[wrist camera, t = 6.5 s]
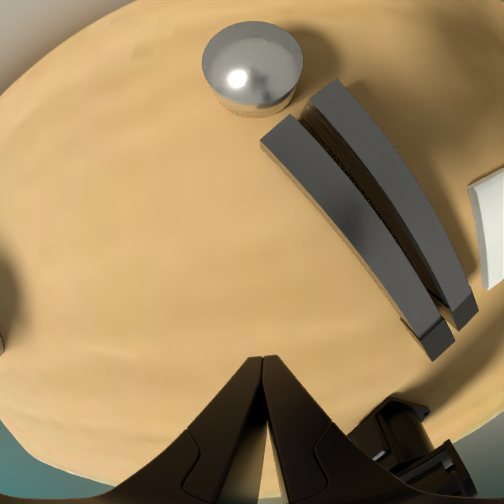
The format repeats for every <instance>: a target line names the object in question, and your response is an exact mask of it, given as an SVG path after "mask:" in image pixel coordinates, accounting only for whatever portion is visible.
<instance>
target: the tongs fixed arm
mask: <svg viewBox="0 0 504 504" xmlns="http://www.w3.org/2000/svg"><path fill="white" fill-rule="evenodd" d="M300 116H301V117H302V118H303V119H304V120H305V121H306V122H307V123H308V124H309V125H310V127H311V128H312V129H313V130H314V131H315V132H316V133H317V134H318V135H319V137H320V138H321V139H322V140H323V141H324V142H325V144H326V145H327V146H328V147H329V148H330V149H331V151H332V152H333V153H334V154H335V155H336V157H337V158H338V159H339V160H340V161H341V163H342V164H343V165H344V166H345V168H346V169H347V170H348V171H349V173H350V174H351V175H352V177H353V178H354V179H355V180H356V182H357V183H358V184H359V186H360V187H361V188H362V190H363V191H364V192H365V194H366V195H367V196H368V198H369V199H370V201H371V202H372V203H373V205H374V206H375V208H376V209H377V210H378V212H379V213H380V215H381V216H382V218H383V219H384V221H385V222H386V224H387V225H388V227H389V228H390V230H391V231H392V233H393V234H394V236H395V237H396V239H397V240H398V242H399V244H400V245H401V247H402V248H403V250H404V252H405V253H406V255H407V256H408V258H409V260H410V261H411V263H412V265H413V267H414V268H415V270H416V272H417V273H418V275H419V277H420V279H421V281H422V282H423V284H424V286H425V288H426V290H427V292H428V294H429V296H430V298H431V299H432V301H433V303H434V305H435V307H436V308H437V310H438V312H439V314H440V315H441V316H442V317H443V318H445V320H447V321H448V322H449V323H450V324H451V325H452V326H453V327H454V328H455V329H456V330H457V331H458V332H459V331H460V330H461V329H462V328H463V327H464V326H465V325H466V324H467V323H468V322H469V321H470V320H471V319H472V317H473V316H474V315H475V314H476V313H477V312H478V311H479V310H478V307H477V304H476V301H475V298H474V295H473V292H472V290H471V287H470V286H469V284H468V281H467V279H466V276H465V274H464V271H463V269H462V266H461V264H460V262H459V259H458V257H457V255H456V253H455V251H454V248H453V246H452V244H451V242H450V240H449V238H448V236H447V234H446V232H445V230H444V228H443V226H442V224H441V222H440V220H439V218H438V216H437V215H436V213H435V211H434V209H433V207H432V206H431V204H430V202H429V200H428V199H427V197H426V195H425V194H424V192H423V190H422V189H421V187H420V185H419V184H418V182H417V180H416V179H415V177H414V176H413V174H412V173H411V171H410V170H409V168H408V167H407V165H406V164H405V162H404V161H403V159H402V158H401V156H400V155H399V153H398V152H397V151H396V149H395V148H394V146H393V145H392V144H391V142H390V141H389V140H388V138H387V137H386V136H385V134H384V133H383V132H382V130H381V129H380V128H379V126H378V125H377V124H376V123H375V121H374V120H373V119H372V118H371V116H370V115H369V114H368V113H367V112H366V110H365V109H364V108H363V107H362V106H361V105H360V103H359V102H358V101H357V100H356V99H355V98H354V97H353V95H352V94H351V93H350V92H349V91H348V90H347V89H346V88H345V87H344V86H343V85H342V83H341V82H340V81H339V80H338V79H336V80H334V81H333V82H331V83H330V84H329V85H327V86H326V87H325V88H323V89H322V90H321V91H319V92H318V93H317V94H315V95H314V96H313V97H311V98H310V99H309V100H308V102H307V104H306V105H305V107H304V109H303V111H302V112H301V114H300Z"/></svg>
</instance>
